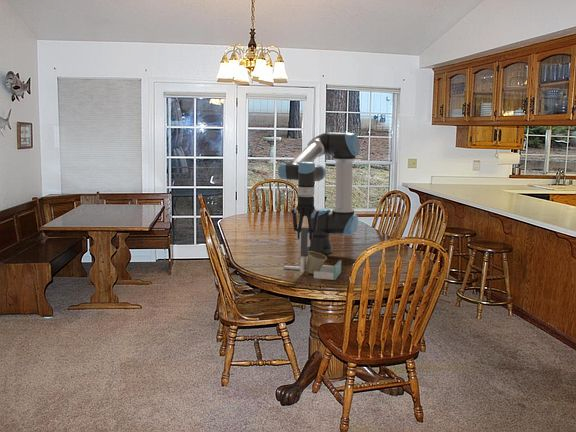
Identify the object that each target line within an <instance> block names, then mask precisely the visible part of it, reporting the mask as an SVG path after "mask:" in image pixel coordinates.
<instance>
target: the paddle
mask: <svg viewBox="0 0 576 432" xmlns="http://www.w3.org/2000/svg"><path fill="white" fill-rule="evenodd" d="M308 232H309V228H308V227H304V226H302V228H301V246H300V260H299V261H300V262H299V263H300V265H299V267H300V270H299V273H300V274H304V273H305V272H307V271H306V266H307V260H308V252H309V247H307V237H308Z"/></svg>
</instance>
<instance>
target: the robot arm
mask: <svg viewBox="0 0 576 432" xmlns="http://www.w3.org/2000/svg"><path fill="white" fill-rule="evenodd" d="M360 148H361V145H360V140H359V138H358V136H357V134H356V133H353V132H330V131H329V132H324V133H321V134H319V135H316V136H315V137H314V138H312V139H311V140H310V141H309V142H308V143H307V146H305V148H304V149H303V150H301V151H300V152H299V154H297V155H296V156H295V157H294V158H293V159H292V160H291V161H289V163H281V164H279V166H278V168H277V173H278V178H279V179H280V180H286V181H287V180H289V181H298V183H297V195H298V196H297V206H296V208H293V209H291V210H290V211H291V215H292V222H293V223H292V224H293V226H292V227H293V231H295V232H297V237H296V238H297V240H299V244H298V246H299V247H301V228H303V223H304V217H306V218H307V224H308V227H307V228H309V232H308V237H307V247H309V251H313V252H318V253H321V254H323V255H328V254H331V253H333V245H332V242H331V237H330V236H331V235H340V236H353V235H354V234H355V232H356V230H357V227H358V224H359V216H358V214H356V213H355V209H354V208H353V207H352V206H353V205H352V200H353V199H352V198H353V197H352V196H353V195H352V194H353V162H355V160H356V158H357V157H356V156H359V155H360ZM323 155H330V156H331V155H333V157H332V159H333V160H334V161H335V201H334V202H335V203H334V208H333V209H330V208H320V209H316V207H315V197H314V196H315V183H316V182H320V181H322V180H323V179H325V177H326V172H327V171H326V168H325V167H324V166H323V165H320V164H315V162H314V161H315V160H316V159H317V158H320V157H321V156H323ZM331 210H332V211H331ZM297 212H298V213H299V220H298V215H297V214H298V213H297Z"/></svg>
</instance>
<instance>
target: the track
mask: <svg viewBox="0 0 576 432" xmlns="http://www.w3.org/2000/svg"><path fill="white" fill-rule="evenodd" d="M283 269H284V270H291V271H292V270H294V271H300V266H294V265H284V266H283Z"/></svg>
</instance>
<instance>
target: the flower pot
mask: <svg viewBox="0 0 576 432" xmlns="http://www.w3.org/2000/svg"><path fill="white" fill-rule="evenodd" d="M326 260H328V257H327V255H326V254H321V253H318V252H313V251H309V252H308V260H307V266H306V271H305V272H307V273H308V274H311V275H314V271H318V272H320V270H321V268H322V266H323V265H325V262H326Z"/></svg>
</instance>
